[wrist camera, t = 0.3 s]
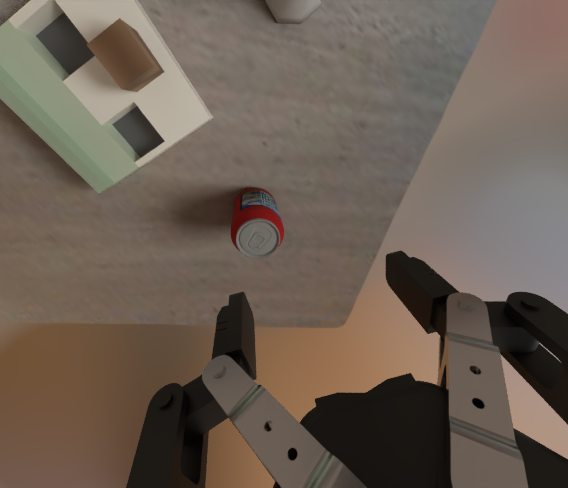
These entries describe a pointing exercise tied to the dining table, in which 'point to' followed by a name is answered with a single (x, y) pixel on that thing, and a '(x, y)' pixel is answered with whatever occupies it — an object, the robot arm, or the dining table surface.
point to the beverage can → (256, 224)
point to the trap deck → (93, 89)
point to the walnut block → (125, 56)
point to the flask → (292, 9)
